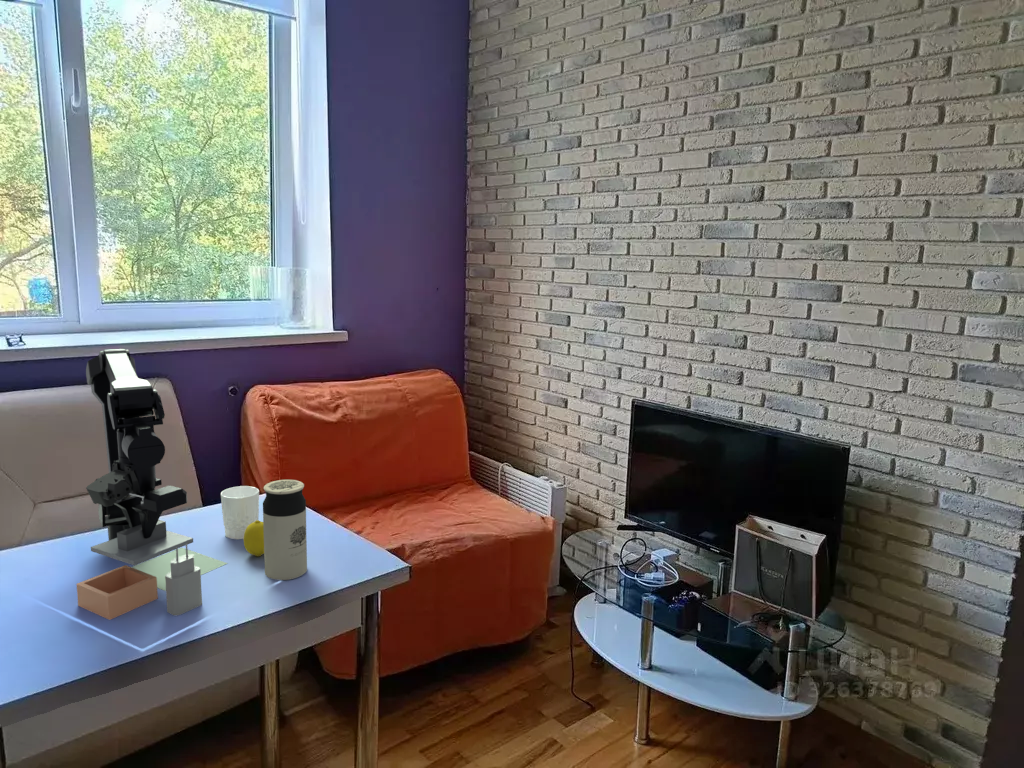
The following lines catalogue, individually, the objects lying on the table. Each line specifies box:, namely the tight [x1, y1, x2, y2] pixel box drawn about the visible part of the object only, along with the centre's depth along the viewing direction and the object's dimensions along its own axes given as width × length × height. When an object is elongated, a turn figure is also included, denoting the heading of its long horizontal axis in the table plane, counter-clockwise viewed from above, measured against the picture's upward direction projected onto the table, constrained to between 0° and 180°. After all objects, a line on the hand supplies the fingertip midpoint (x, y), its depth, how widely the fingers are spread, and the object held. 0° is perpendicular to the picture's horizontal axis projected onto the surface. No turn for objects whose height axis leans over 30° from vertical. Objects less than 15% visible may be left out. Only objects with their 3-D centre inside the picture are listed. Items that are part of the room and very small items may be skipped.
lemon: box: [243, 519, 264, 558], centre depth 148 cm, size 6×6×8 cm
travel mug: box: [262, 479, 308, 581], centre depth 141 cm, size 8×8×18 cm
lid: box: [90, 519, 194, 566], centre depth 132 cm, size 12×12×4 cm
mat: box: [131, 547, 229, 592], centre depth 142 cm, size 14×14×1 cm
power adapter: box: [165, 544, 203, 617], centre depth 126 cm, size 3×5×12 cm, turn 149°
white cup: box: [220, 485, 260, 540], centre depth 159 cm, size 8×8×10 cm
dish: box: [75, 564, 159, 621], centre depth 128 cm, size 9×9×4 cm
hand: (142, 536), depth 132 cm, fingers closed on lid, 2 cm apart
